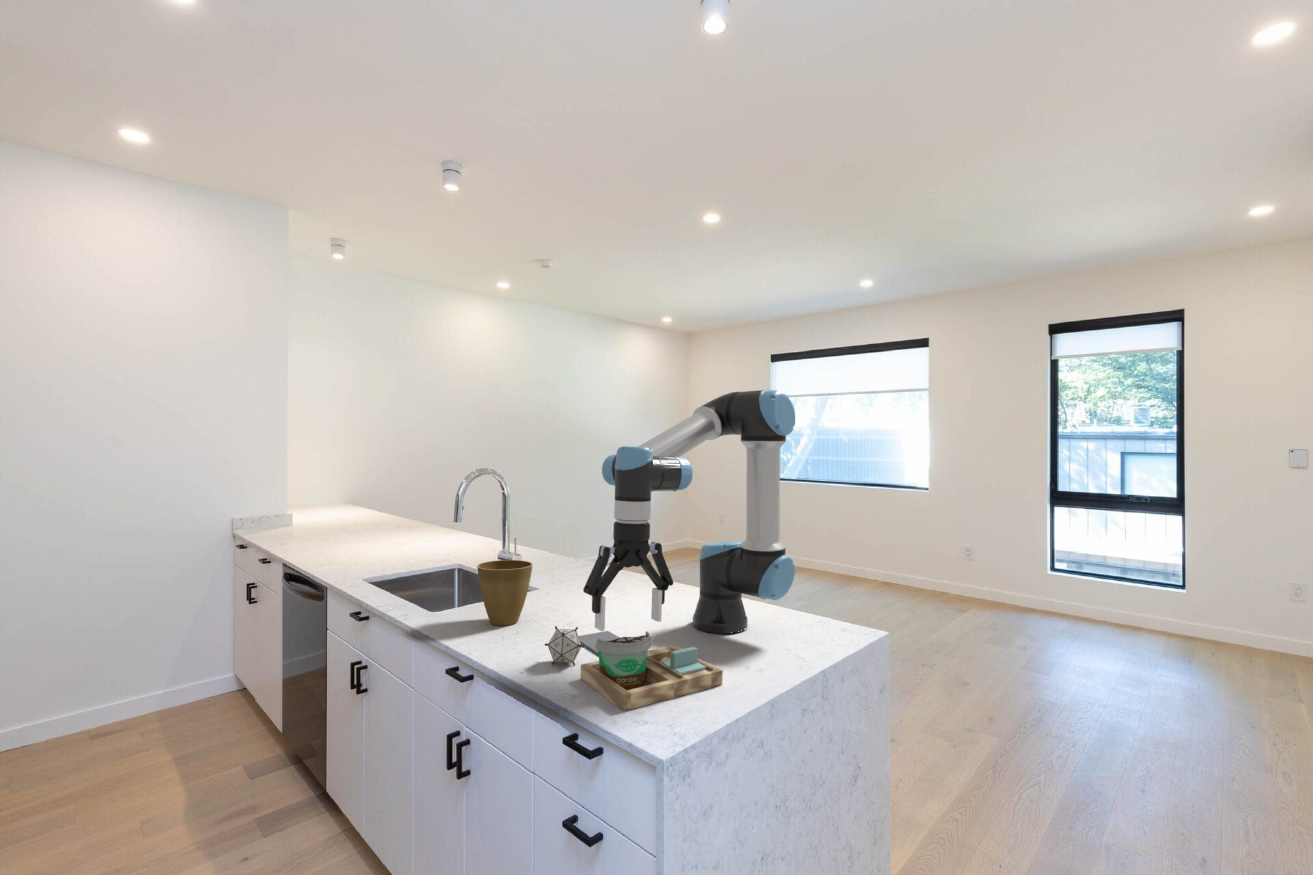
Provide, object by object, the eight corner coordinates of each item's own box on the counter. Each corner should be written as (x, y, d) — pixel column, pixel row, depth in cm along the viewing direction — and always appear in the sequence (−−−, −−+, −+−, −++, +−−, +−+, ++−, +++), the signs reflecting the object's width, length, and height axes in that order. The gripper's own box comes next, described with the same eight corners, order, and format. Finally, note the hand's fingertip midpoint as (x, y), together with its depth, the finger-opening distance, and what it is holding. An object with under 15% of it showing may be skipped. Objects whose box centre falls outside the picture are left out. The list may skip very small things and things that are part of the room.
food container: (606, 698, 118) (607, 647, 118) (594, 687, 124) (595, 638, 124) (661, 687, 124) (662, 639, 124) (647, 677, 129) (648, 630, 129)
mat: (607, 632, 159) (607, 630, 159) (640, 651, 146) (640, 648, 146) (573, 639, 153) (573, 636, 153) (603, 658, 140) (603, 655, 140)
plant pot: (542, 620, 169) (543, 563, 169) (502, 633, 157) (504, 572, 157) (505, 611, 177) (506, 556, 177) (464, 623, 165) (465, 564, 165)
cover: (686, 658, 132) (687, 642, 132) (706, 668, 127) (706, 652, 127) (661, 664, 128) (662, 648, 129) (680, 675, 123) (681, 657, 123)
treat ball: (667, 668, 135) (668, 654, 135) (675, 672, 132) (676, 658, 132) (656, 670, 133) (657, 657, 133) (664, 675, 131) (664, 661, 131)
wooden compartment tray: (672, 658, 141) (673, 642, 141) (722, 684, 126) (722, 667, 126) (580, 678, 128) (580, 661, 128) (623, 710, 113) (624, 691, 113)
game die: (566, 682, 135) (561, 656, 129) (540, 661, 139) (534, 635, 133) (593, 655, 140) (590, 628, 134) (567, 635, 145) (563, 609, 139)
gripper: (670, 516, 134) (668, 612, 134) (569, 521, 120) (565, 627, 120) (691, 520, 128) (688, 620, 128) (586, 525, 114) (582, 638, 114)
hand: (628, 624), depth 124 cm, fingers open, 13 cm apart
